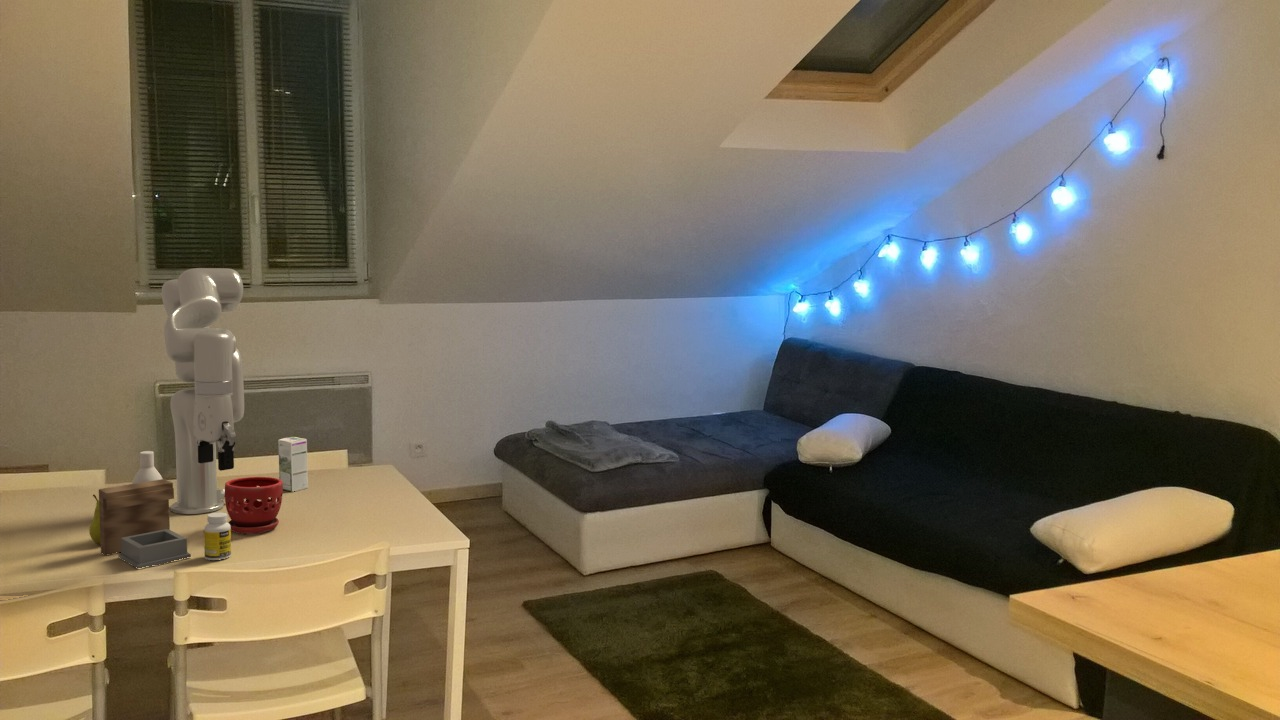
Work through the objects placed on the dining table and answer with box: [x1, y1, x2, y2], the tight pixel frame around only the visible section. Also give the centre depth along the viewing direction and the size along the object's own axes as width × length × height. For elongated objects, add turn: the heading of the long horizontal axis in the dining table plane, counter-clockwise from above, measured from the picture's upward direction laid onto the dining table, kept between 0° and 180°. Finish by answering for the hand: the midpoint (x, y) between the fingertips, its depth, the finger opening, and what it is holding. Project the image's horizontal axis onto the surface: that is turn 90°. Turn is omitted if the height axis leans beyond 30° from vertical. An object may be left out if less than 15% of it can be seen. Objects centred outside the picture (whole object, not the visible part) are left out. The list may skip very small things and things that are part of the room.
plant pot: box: [224, 476, 284, 535], centre depth 237 cm, size 13×13×12 cm
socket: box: [117, 529, 192, 568], centre depth 214 cm, size 11×11×4 cm
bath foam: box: [131, 450, 163, 484], centre depth 230 cm, size 7×7×20 cm
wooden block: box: [98, 478, 175, 556], centre depth 220 cm, size 14×5×15 cm, turn 138°
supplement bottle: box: [203, 512, 232, 561], centre depth 216 cm, size 5×5×10 cm
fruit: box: [88, 494, 101, 545], centre depth 223 cm, size 6×6×12 cm
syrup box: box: [277, 436, 309, 493], centre depth 275 cm, size 6×6×14 cm
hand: (215, 465), depth 213 cm, fingers open, 9 cm apart
